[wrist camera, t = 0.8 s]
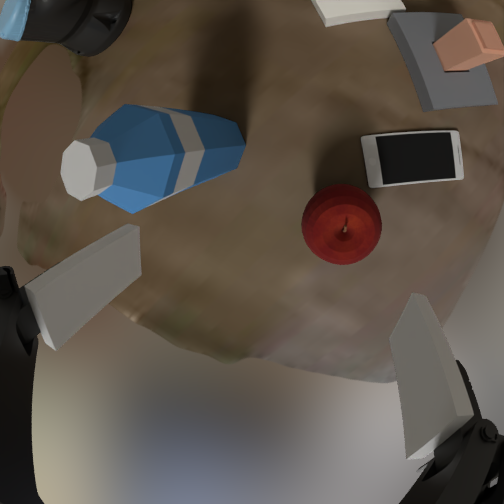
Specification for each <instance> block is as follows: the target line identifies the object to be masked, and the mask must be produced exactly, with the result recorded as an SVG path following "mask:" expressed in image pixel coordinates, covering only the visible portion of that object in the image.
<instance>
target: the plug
mask: <svg viewBox="0 0 504 504" xmlns="http://www.w3.org/2000/svg"><path fill="white" fill-rule="evenodd" d="M433 46H434V48H435V51H436V53H437V55H438V58H439V60H440V62H441V65H442V67H443V70H444V72H445V73H449V72H463V71H466V70H469V69H471V68H474V67H476V66H479V65H482V64H484V63H487V62H490V61H492V60H495V59H498V58H501V57H504V46H503V44H502V42H501V40H500V38H499V36H498V33H497V31H496V29H495V27H494V25H493V24H492V23H491V22H488V21H482V20H475V19H467V18H466V19H464V20H463V21H462V22H460V23H459V24H458V25H457V26H455V27H454V28H453V29H451V30H450V31H449V32H447V33H446V34H445V35H444V36H442V37H441V38H440V39H439V40H437V41H436V42H435V43H434V44H433Z"/></svg>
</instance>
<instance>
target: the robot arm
mask: <svg viewBox="0 0 504 504" xmlns="http://www.w3.org/2000/svg"><path fill="white" fill-rule="evenodd" d="M131 6H132V5H131V0H6V1H5V4H4V6H3V9H2V12H1V15H0V37H1V38H3V39H9V40H15V41H19V40H22V41H40V42H51V43H59V44H61V45H63V46H64V47H66V48H67V49H69V50H70V51H72V52H73V53H75V54H77V55H81V56H94V55H97V54H99V53H101V52H102V51H104V50H105V49H107V48H108V47H109V46H110V45H111V44H112V43H113V42H114V41H115V40H116V39H117V37H118V36H119V35H120V33H121V32H122V30H123V29H124V27H125V25H126V23H127V21H128V19H129V16H130V13H131ZM141 275H142V274H141V258H140V230H139V226H135V225H131V224H126V225H124V226H123V227H121V228H119V229H117V230H115V231H113V232H111V233H110V234H108V235H106V236H104V237H102V238H101V239H99V240H97V241H95V242H94V243H92V244H90V245H88V246H87V247H85V248H83V249H82V250H80V251H78V252H77V253H75V254H73V255H72V256H70V257H68V258H67V259H65V260H63V261H62V262H59V263H57V264H56V265H54V266H53V267H51V268H50V269H48V270H46V271H45V272H44V273H42V274H40V275H39V276H37V277H36V278H34V279H33V280H31V281H30V282H28V283H27V284H25V285H24V286H22V287H21V288H19V287H18V284H17V281H16V277H15V274H14V270H13V268H12V267H10V266H3V267H0V504H44V503H43V501H42V500H41V498H40V497H39V495H38V492H37V488H36V482H35V474H34V465H33V453H32V423H31V421H32V417H31V416H32V394H33V393H32V392H33V381H34V370H35V363H36V355H37V349H38V338H37V335H38V334H39V333H40V332H41V334H42V337H43V339H44V341H45V343H46V344H47V345H49V346H50V347H51V348H53V349H54V350H55V351H57V350H58V349H59V348H60V347H61V346H62V345H63V344H64V343H65V342H66V341H67V340H69V339H70V338H71V337H72V336H73V335H74V334H75V333H76V332H77V331H78V330H79V329H80V328H81V327H82V326H84V325H85V324H86V323H87V322H88V321H89V320H90V319H91V318H92V317H93V316H95V315H96V314H97V313H98V312H99V311H100V310H101V309H102V308H103V307H105V306H106V305H107V304H108V303H109V302H110V301H111V300H113V299H114V298H115V297H116V296H117V295H118V294H119V293H121V292H122V291H123V290H124V289H125V288H126V287H128V286H129V285H130V284H131V283H132V282H133V281H135V280H136V279H137V278H138V277H139V276H141ZM389 342H390V346H391V351H392V356H393V361H394V366H395V372H396V377H397V382H398V389H399V395H400V402H401V409H402V417H403V425H404V435H405V449H406V459H420V458H424V457H425V456H427V455H428V454H430V453H431V452H432V451H434V456H435V457H434V458H433V459H432V460H430V461H429V462H427V463H426V464H424V465H423V466H421V467H420V468H419V469H418V470H417V472H420V471H421V470H423V469H424V468H425V469H424V471H423V472H422V474H421V475H420V477H419V478H418V479H417V481H416V482H415V484H414V485H413V486H412V487H411V489H410V491H409V492H408V493H407V494H406V495H405V497H404V498H403V499H402V500H401V502H400V503H399V504H504V436H503V435H499V434H498V430H497V428H496V426H495V425H494V424H493V423H492V422H491V421H490V420H488V419H482V416H481V413H480V409H479V407H478V403H477V400H476V397H475V394H474V392H473V390H472V386H471V383H470V382H469V377H468V375H467V372H466V370H465V368H464V367H463V366H462V364H461V363H460V362H459V360H455V358H454V355H453V354H452V351H451V348H450V346H449V343H448V341H447V339H446V337H445V334H444V332H443V330H442V328H441V326H440V323H439V321H438V319H437V317H436V315H435V313H434V311H433V309H432V307H431V305H430V303H429V301H428V299H427V297H426V295H421V294H417V293H413V292H412V294H411V296H410V298H409V300H408V302H407V305H406V307H405V309H404V311H403V313H402V315H401V317H400V319H399V321H398V322H397V324H396V326H395V328H394V330H393V332H392V334H391V336H390V337H389ZM497 477H498V482H497V484H496V485H494V486H492V487H490V482H491V481H493V480H494V479H496V478H497Z"/></svg>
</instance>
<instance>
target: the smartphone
mask: <svg viewBox="0 0 504 504" xmlns="http://www.w3.org/2000/svg"><path fill="white" fill-rule="evenodd" d="M361 144H362V149H363V154H364V160H365V166H366V172H367V179H368V186H369V187H370V188H377V187H386V186H395V185H404V184H414V183H424V182H436V181H448V180H461V179H463V178H464V172H463V161H462V152H461V145H460V138H459V132H458V131H456V130H442V131H416V132H400V133H388V134H377V135H368V136H362V137H361Z"/></svg>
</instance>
